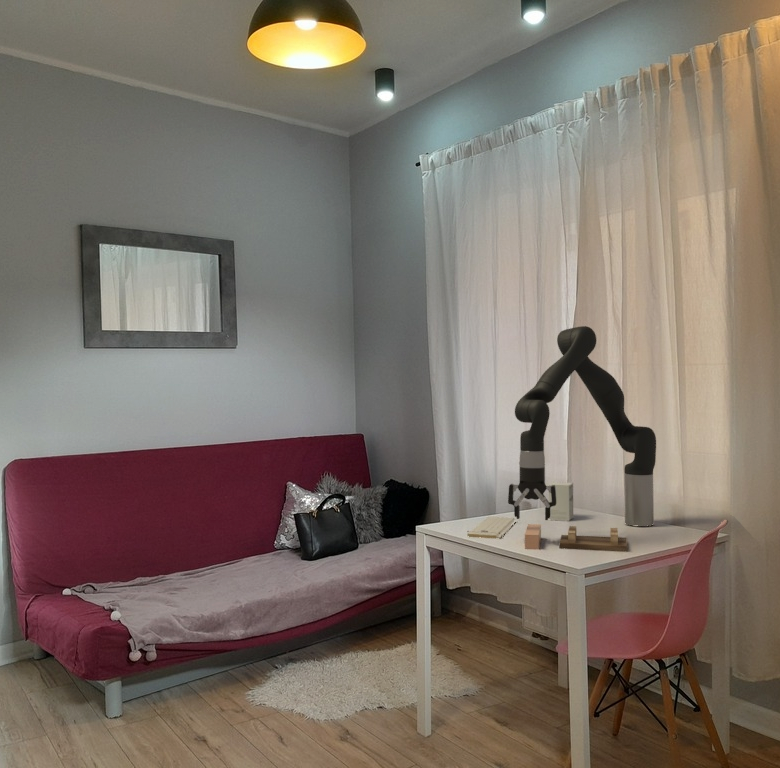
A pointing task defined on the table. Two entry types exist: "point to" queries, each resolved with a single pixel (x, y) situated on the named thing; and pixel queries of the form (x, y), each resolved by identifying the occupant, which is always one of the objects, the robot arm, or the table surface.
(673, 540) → the table surface
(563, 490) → the supplement box
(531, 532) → the clay bar
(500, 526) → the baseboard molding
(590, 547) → the cleated wooden board
